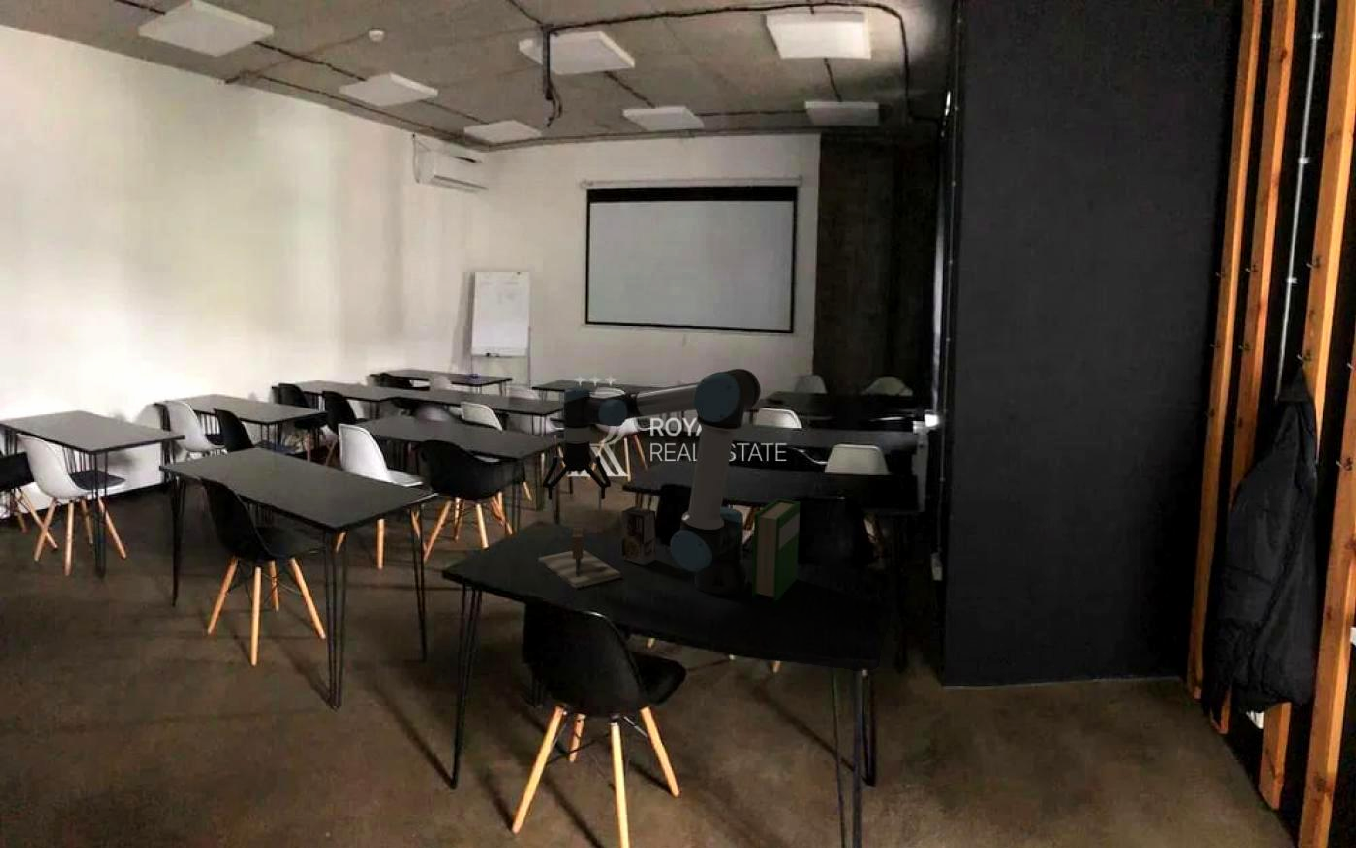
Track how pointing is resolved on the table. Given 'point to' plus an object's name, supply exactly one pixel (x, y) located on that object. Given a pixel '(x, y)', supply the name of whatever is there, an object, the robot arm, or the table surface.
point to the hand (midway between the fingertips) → (577, 509)
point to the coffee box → (638, 535)
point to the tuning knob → (578, 547)
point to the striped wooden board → (588, 573)
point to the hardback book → (775, 548)
